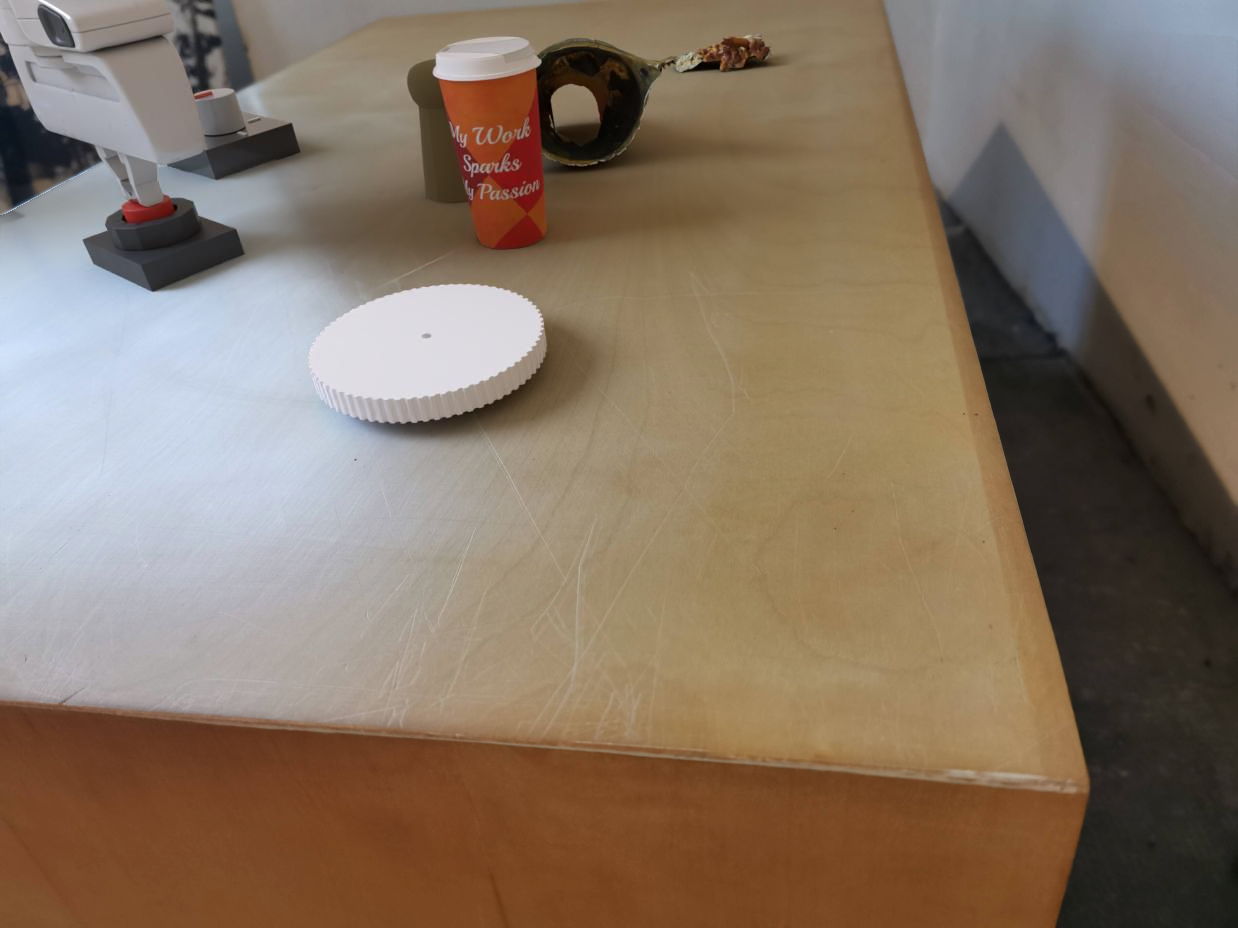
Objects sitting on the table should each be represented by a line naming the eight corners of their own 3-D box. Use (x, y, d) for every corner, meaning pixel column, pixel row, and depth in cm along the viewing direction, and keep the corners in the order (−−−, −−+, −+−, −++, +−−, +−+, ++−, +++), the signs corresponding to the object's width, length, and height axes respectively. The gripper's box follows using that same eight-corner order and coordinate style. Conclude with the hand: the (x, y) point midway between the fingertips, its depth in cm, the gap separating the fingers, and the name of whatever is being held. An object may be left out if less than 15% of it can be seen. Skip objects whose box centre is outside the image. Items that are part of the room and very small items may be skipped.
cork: (465, 174, 82) (443, 50, 76) (504, 187, 79) (484, 57, 72) (412, 193, 79) (384, 65, 72) (450, 207, 76) (424, 74, 69)
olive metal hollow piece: (631, 20, 90) (651, -16, 73) (675, 125, 94) (703, 114, 77) (484, 96, 91) (470, 78, 74) (533, 197, 95) (531, 201, 78)
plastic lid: (591, 380, 51) (587, 342, 49) (365, 470, 45) (353, 430, 44) (488, 298, 61) (482, 265, 59) (291, 364, 55) (279, 329, 54)
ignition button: (121, 227, 69) (112, 205, 68) (164, 212, 71) (155, 191, 70) (143, 235, 67) (134, 214, 66) (186, 220, 69) (178, 198, 68)
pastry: (669, 64, 111) (668, 34, 109) (760, 54, 112) (761, 23, 110) (680, 77, 106) (679, 45, 104) (776, 66, 107) (777, 34, 104)
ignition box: (93, 264, 71) (71, 217, 69) (183, 231, 76) (165, 186, 73) (152, 292, 66) (130, 242, 63) (245, 254, 70) (228, 207, 68)
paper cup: (452, 254, 67) (413, 62, 59) (480, 217, 73) (449, 37, 65) (549, 255, 66) (523, 57, 57) (570, 216, 72) (549, 32, 63)
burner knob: (231, 121, 93) (218, 83, 90) (253, 126, 90) (241, 87, 88) (193, 132, 90) (179, 94, 88) (215, 138, 88) (202, 98, 85)
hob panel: (166, 165, 92) (154, 135, 90) (249, 139, 98) (240, 110, 96) (216, 180, 86) (204, 148, 84) (300, 151, 92) (291, 121, 90)
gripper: (-40, 6, 63) (49, 192, 71) (84, 24, 52) (172, 241, 61) (48, -9, 67) (123, 169, 75) (181, 4, 56) (251, 211, 64)
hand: (146, 202), depth 68 cm, fingers closed, pressing on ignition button
